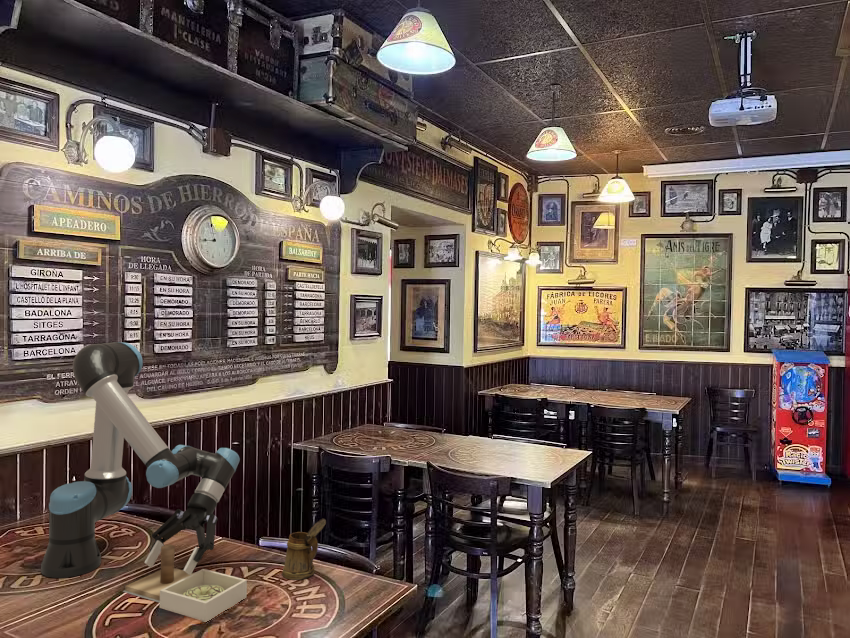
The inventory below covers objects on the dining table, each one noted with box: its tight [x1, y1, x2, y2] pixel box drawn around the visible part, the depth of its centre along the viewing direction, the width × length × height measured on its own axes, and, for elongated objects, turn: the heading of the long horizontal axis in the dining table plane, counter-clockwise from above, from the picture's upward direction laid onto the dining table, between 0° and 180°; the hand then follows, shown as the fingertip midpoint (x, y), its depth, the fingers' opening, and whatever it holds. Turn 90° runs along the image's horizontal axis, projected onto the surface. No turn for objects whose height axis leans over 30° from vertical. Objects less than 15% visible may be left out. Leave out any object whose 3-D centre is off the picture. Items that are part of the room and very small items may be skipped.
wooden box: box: [159, 568, 248, 623], centre depth 162 cm, size 15×15×5 cm
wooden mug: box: [281, 518, 327, 581], centre depth 181 cm, size 9×14×18 cm, turn 58°
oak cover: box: [124, 544, 195, 601], centre depth 171 cm, size 14×14×11 cm
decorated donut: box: [183, 585, 225, 601], centre depth 162 cm, size 10×11×4 cm
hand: (166, 569), depth 169 cm, fingers open, 13 cm apart
